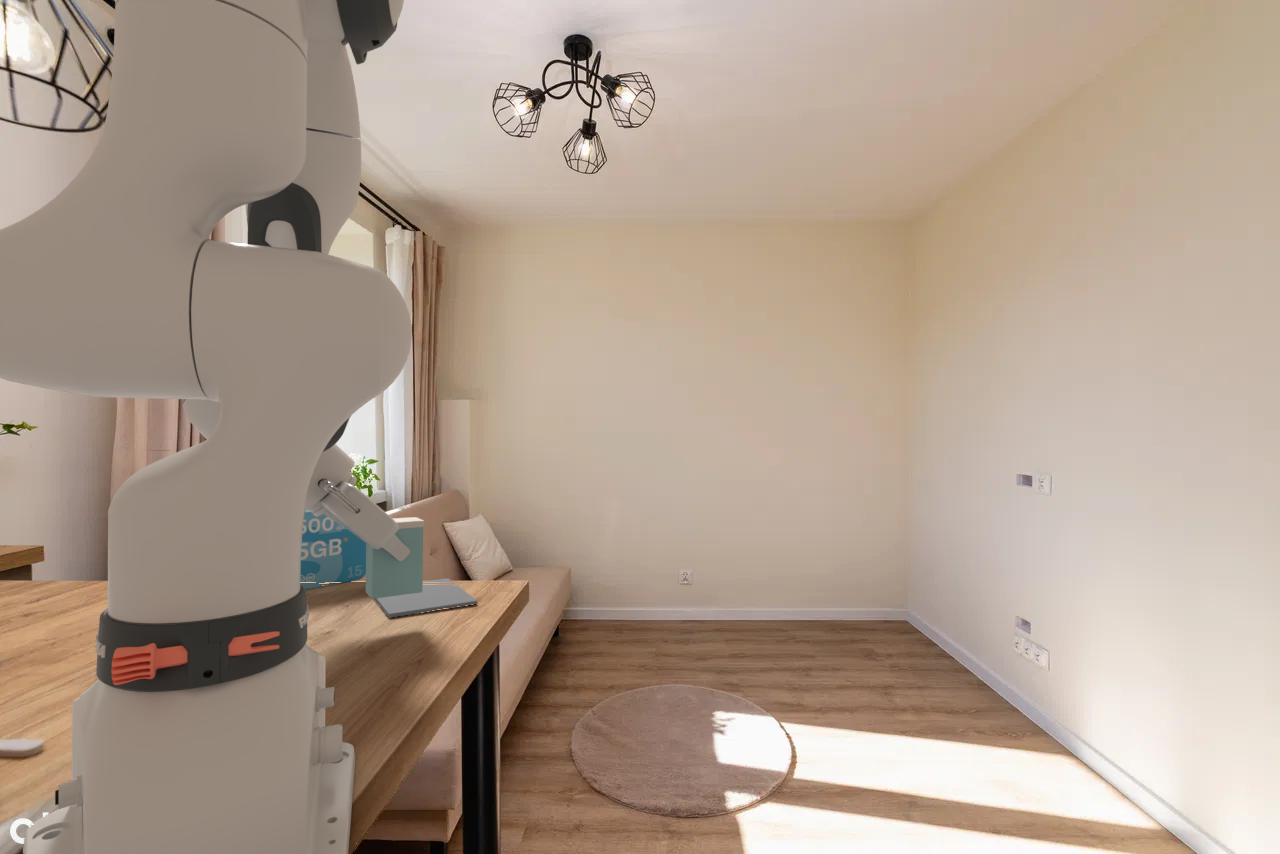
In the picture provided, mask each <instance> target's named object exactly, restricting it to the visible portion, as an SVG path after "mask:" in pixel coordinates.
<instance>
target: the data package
mask: <svg viewBox="0 0 1280 854" xmlns="http://www.w3.org/2000/svg"><path fill="white" fill-rule="evenodd" d="M364 577H366V543H365V542H364V541H363V540H361V539H360V538H359V537H357V536H356V535H354V534H353V533H352V532H350V531H349V530H348V529H346V528H345V527H343V526H341V525H340V524H338V523H337V522H335V521H333V520H332V519H330V518H329V517H327V516H326V515H324V514H322V515H321V516H318V517H315V516H314V515H313V514H312V513H311V512H309V511H308V510H307V511H306V512H304V521H303V532H302V546H301V577H300V582H316V583H300V585H302V586H303V587H304V588H305V589H306V591H307V590H312V589H316V588H323V587H325V586H322V585H329V586H332V585H331V584H335V585H339V584H341V583H329V584H319V583H325V582H345V583H350V582H356V581H360V580H361V579H363V578H364Z"/></svg>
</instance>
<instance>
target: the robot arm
mask: <svg viewBox="0 0 1280 854" xmlns="http://www.w3.org/2000/svg"><path fill="white" fill-rule="evenodd" d="M114 1H115V2H114V3H115V4H114V7H115V8H114V34H113V35H114V36H113V38H114V39H113V41H114V42H113V53H112V54H113V59H112V70H111V78H110V79H111V81H110V90H109V97H108V106H107V110H106V111H107V112H106V118H105V122H104V124H103V125H104V126H103V128H102V131H101V133H100V136H99V139H98V141H97V144H96V146H95V147H94V149H93V151H92V153H91V154H90V156H89V158H88V159H87V161H86V162H85V164H84V165H83V167H81V169H80V171H79V172H78V173H77V174H76V175H75V176H74V178H73V179H72V180H71V181H70V182H69V183H68V185H67V186H66V187H65V188H64V189H62V191H60V192H59V193H58V194H57V195H56V196H55V197H54V198H53V199H52V200H50V201H49V202H48V203H46V204H45V205H43V206H42V207H41V208H40V209H38V210H36V211H34V212H33V213H31V214H30V215H28V216H26V217H25V218H22V219H21V220H19V221H17V222H15V223H13V224H10V225H8V226H6V227H3V228H1V229H0V379H2V380H5V381H7V382H12V383H17V384H20V385H21V384H22V385H25V386H26V385H28V386H32V387H37V388H42V389H45V390H46V389H47V390H53V391H57V392H63V393H69V394H76V395H81V396H88V397H93V398H116V399H117V398H121V399H123V398H126V399H155V400H156V399H160V400H161V399H163V400H183V401H182V402H183V403H182V409H183V410H182V411H183V413H184V414H185V416H186V418H187V420H188V421H189V423H191V424H192V426H193V427H194V428H195V429H196V430H197V431H198V433H200V434H201V435H202V437H204V438H205V440H204V441H201V442H199V443H198V444H195V445H192V446H190V447H187V448H184V449H181V450H180V451H177V452H175V453H172V454H169V455H167V456H165V457H163V458H161V459H158V460H157V461H154V462H152V463H150V464H148V465H146V466H144V467H143V468H141V469H139V470H137V471H136V472H134V473H133V474H132V475H130V476H129V477H128V478H127V479H126V480H124V482H122V484H121V485H120V486H119V487H118V489H117V490H116V492H115V494H114V495H113V497H112V500H111V502H110V504H109V506H108V507H109V508H108V509H107V510H108V511H107V547H108V548H107V607H106V609H104V610H103V611H102V612H101V613H100V615H99V622H98V623H99V624H98V630H97V633H96V635H95V652H96V669H95V670H96V671H95V672H96V673H95V674H96V677H97V679H96V681H95V682H93V684H92V685H91V686H89V687H88V688H87V689H86V690H84V691H83V692H82V693H81V694H80V696H78V697H77V698H75V699H74V700H73V701H72V702H71V781H68V782H63V783H60V784H58V789H57V790H54V805H55V806H58V809H55V810H54V811H52V812H50V813H48V814H45V815H44V816H45V817H44V816H42V817H41V818H38V819H37V820H35V821H34V822H33V824H34V825H31V824H30V825H31V827H30V828H28V827H27V828H26V830H25V834H24V839H23V845H24V846H23V847H22V854H349V848H350V836H351V821H352V809H353V808H352V806H353V797H354V796H353V795H354V785H355V784H354V783H355V782H354V781H355V768H356V753H355V747H354V745H353V744H351V743H349V742H344V741H343V735H344V734H343V730H344V729H343V726H344V725H343V724H339V723H337V724H332V725H327V726H326V709H327V708H332V707H335V706H334V705H335V699H336V698H335V692H336V691H335V687H334V686H331V687H330V686H329V687H326V656H325V655H322V654H320V652H318V651H316V650H314V649H313V648H312V647H310V646H309V645H308V644H307V643H308V642H307V641H308V637H309V636H308V621H309V618H310V613H309V612H310V611H309V609H310V608H309V603H307V602H308V601H307V598H308V597H307V590H306V589H305V588H304V587H303V586H302V585H300V577H301V546H302V532H303V521H304V512H306V511H307V510H308V511H309V512H311V513H312V514H313V515H314V516H315V517H318V516H321V515H322V514H324V515H326V516H327V517H329V518H330V519H332V520H333V521H335V522H337V523H338V524H340V525H341V526H343V527H345V528H346V529H348V530H349V531H350V532H352V533H353V534H354V535H356V536H357V537H359V538H360V539H361V540H363V541H364V542H365V543H367V544H368V545H369V546H371V547H372V548H374V549H380V548H381V547H382V548H383V549H385V550H386V551H387V552H389V553H390V554H391V555H392V556H394V557H395V558H396V559H397V560H398V561H403V560H404V559H405V558H406V557H407V556H408V555H409V554H410V550H409V548H407V547H406V546H405V545H404V544H403V543H402V542H401V541H400V540H399V539H398V537H397V536H396V535H395V533H396V532H397V531H398V529H399V526H398V524H397V523H396V522H395V521H394V520H393V519H392V518H393V517H391V516H390V515H389V514H388V513H387V512H386V511H384V510H383V509H382V508H381V507H380V506H379V505H378V504H376V503H375V502H374V501H373V500H372V499H371V498H370V497H368V496H367V495H366V494H365V493H364V492H363V491H361V490H360V489H359V488H358V487H356V486H355V484H356V483H357V479H358V478H357V477H356V476H355V475H354V474H353V473H352V472H351V471H352V469H353V468H354V466H355V461H354V460H353V459H352V458H351V457H350V456H349V455H348V454H347V453H346V452H345V451H344V450H342V449H341V448H340V447H339V446H338V445H337V443H338V442H339V441H340V439H341V438H342V436H343V435H344V432H345V431H346V428H347V426H348V423H349V421H350V419H351V417H352V416H353V414H355V413H356V412H357V411H358V410H359V409H361V408H362V407H364V406H365V405H366V404H367V403H368V402H370V401H372V400H373V399H374V398H376V397H378V396H380V395H381V394H382V393H384V392H385V391H386V390H387V389H388V388H389V387H391V385H392V384H394V382H395V381H396V380H397V378H398V377H399V376H400V374H401V372H402V370H403V369H404V367H405V365H406V363H407V360H408V357H409V354H410V351H411V346H412V336H413V334H412V333H413V332H412V329H413V328H412V322H411V316H410V312H409V308H408V306H407V304H406V301H405V299H404V297H403V295H402V294H401V292H400V290H399V289H398V287H397V286H396V284H395V283H394V281H393V280H392V279H391V277H389V276H388V275H387V274H386V273H385V272H384V271H383V270H381V269H378V268H377V267H376V268H375V267H372V266H369V265H366V264H362V263H359V262H355V261H354V260H349V259H345V258H342V257H339V256H334V255H330V251H331V248H332V246H333V243H334V241H335V240H336V238H337V236H338V234H339V233H340V231H341V229H342V227H343V226H344V225H345V223H346V222H347V221H348V219H349V218H350V217H351V215H352V214H353V213H354V211H355V209H356V207H357V204H358V203H357V202H358V199H359V198H358V197H359V193H360V192H359V191H360V184H361V175H362V140H361V139H362V138H361V137H362V136H361V125H360V122H361V121H360V115H359V106H358V99H357V98H358V97H357V92H356V86H355V82H354V81H355V80H354V75H353V71H352V67H351V66H352V65H351V61H350V57H349V53H348V49H347V46H346V45H349V48H350V50H351V54H352V55H353V59H354V61H355V63H356V65H362V64H364V63H365V62H366V60H367V56H368V53H369V52H372V51H374V50H376V49H378V48H381V47H383V46H384V45H385V43H387V41H389V39H390V38H391V37H392V35H394V34H395V32H396V31H397V27H398V21H399V19H400V16H401V14H402V11H403V6H404V1H405V0H114ZM244 205H245V215H246V223H247V224H246V225H247V243H241V242H239V243H238V242H229V241H219V240H218V241H217V240H212V239H211V238H210V236H211V233H212V232H213V230H214V228H215V227H216V226H217V225H218V223H219V222H220V221H221V220H222V219H223V218H224V217H226V216H227V214H229V213H231V212H233V211H234V210H236V209H238V208H239V207H242V206H244Z"/></svg>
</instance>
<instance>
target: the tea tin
mask: <svg viewBox="0 0 1280 854" xmlns="http://www.w3.org/2000/svg"><path fill="white" fill-rule="evenodd" d="M391 518H392V519H393V520H394V521H395V522H396V523H397V524H398V526H399V529H398V531H397V532H396V533H395V535H396V536H397V537H398V539H399V540H400V541H401V542H402V543H403V544H404V545H405V546H406V547H407V548H409V550H410V554H409V555H408V556H407V557H406V558H405V559H404V560H403V561H398V560H397V559H396V558H395V557H394V556H392V555H391V554H390V553H389V552H387V551H386V550H385V549H383V548H382V547H381V548H380V549H374V548H372V547H371V546H369V545H368V544H367V543H366V575H365V593H366V594H367V595H368V596H369V597H370V599H371V600H372V599H375V598H382V597H390V596H398V595H405V594H413V593H421V592H422V585H423V581H424V579H423V577H424V575H423V572H424V569H423V567H424V565H423V564H424V528H425V520H424V519H421V518H419V517H416V516H413V517H411V516H409V517H398V518H396V517H394V518H393V517H391Z"/></svg>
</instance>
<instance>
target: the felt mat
mask: <svg viewBox="0 0 1280 854" xmlns="http://www.w3.org/2000/svg"><path fill="white" fill-rule="evenodd" d="M423 582H453V581H452V580H451V579H450V578H449V577H447V578H441V579H440V578H438V579H433V580H423ZM423 584H451V585H422V592H421V593H413V594H405V595H398V596H390V597H382V598H375V600H376V601H375V600H374V601H375V602H376V604H377V603H378V604H379V605H380V606H379V605H378V604H377V605H378V606H379V608H380V607H381V608H382V609H383V610H382V609H381V608H380V609H381V610H382V612H383V613H384V612H385V613H386V614H385V613H384V614H385V615H386V616H388V617H387V618H388V619H393V618H392V617H395V618H398V617H397V616H401V617H405V616H404V615H408V616H412V615H411V614H414V615H418V614H417V613H421V612H427V611H432V610H437V609H443V608H452V607H457V606H465V605H471V604H477V605H478V600H477V599H476V598H474V596H472V595H471V594H469V593H468V592H467V591H465V590H464V589H463V588H461V587H460V586H459V585H458V586H452V584H456V583H455V582H454V583H423ZM427 613H428V612H427ZM421 614H422V613H421Z"/></svg>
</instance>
